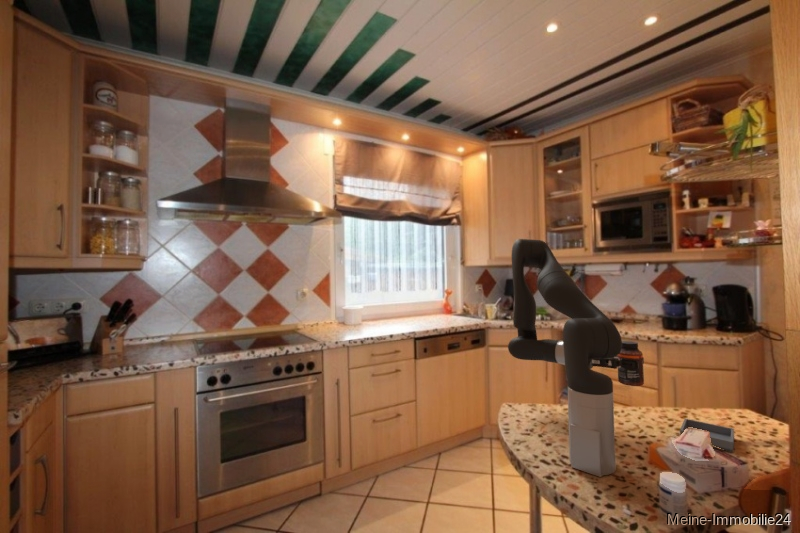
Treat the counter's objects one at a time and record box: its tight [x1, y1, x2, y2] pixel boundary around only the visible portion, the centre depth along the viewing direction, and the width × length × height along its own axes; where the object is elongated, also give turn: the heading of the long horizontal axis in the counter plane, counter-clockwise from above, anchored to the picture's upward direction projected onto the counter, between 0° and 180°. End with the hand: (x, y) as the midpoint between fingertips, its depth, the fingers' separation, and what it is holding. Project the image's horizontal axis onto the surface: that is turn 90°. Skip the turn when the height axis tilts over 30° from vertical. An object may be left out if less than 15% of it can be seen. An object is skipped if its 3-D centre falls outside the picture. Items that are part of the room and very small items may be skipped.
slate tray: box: [679, 418, 735, 453], centre depth 92 cm, size 10×10×2 cm
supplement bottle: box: [617, 340, 645, 387], centre depth 97 cm, size 6×6×11 cm
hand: (640, 362), depth 95 cm, fingers closed on supplement bottle, 6 cm apart
